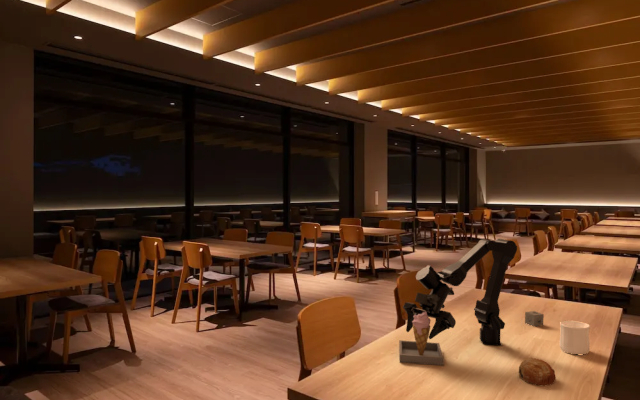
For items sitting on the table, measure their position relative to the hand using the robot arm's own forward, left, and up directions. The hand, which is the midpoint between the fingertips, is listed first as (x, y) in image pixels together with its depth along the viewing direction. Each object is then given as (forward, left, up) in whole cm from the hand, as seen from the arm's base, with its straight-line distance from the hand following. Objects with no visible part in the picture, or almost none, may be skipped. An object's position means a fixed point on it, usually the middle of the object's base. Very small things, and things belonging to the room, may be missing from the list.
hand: (418, 334), depth 147 cm
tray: (-1, -1, -8) cm, 8 cm away
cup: (-56, -17, -8) cm, 59 cm away
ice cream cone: (-1, -1, -7) cm, 8 cm away
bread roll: (-35, +10, -8) cm, 37 cm away
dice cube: (-51, -47, -8) cm, 70 cm away
